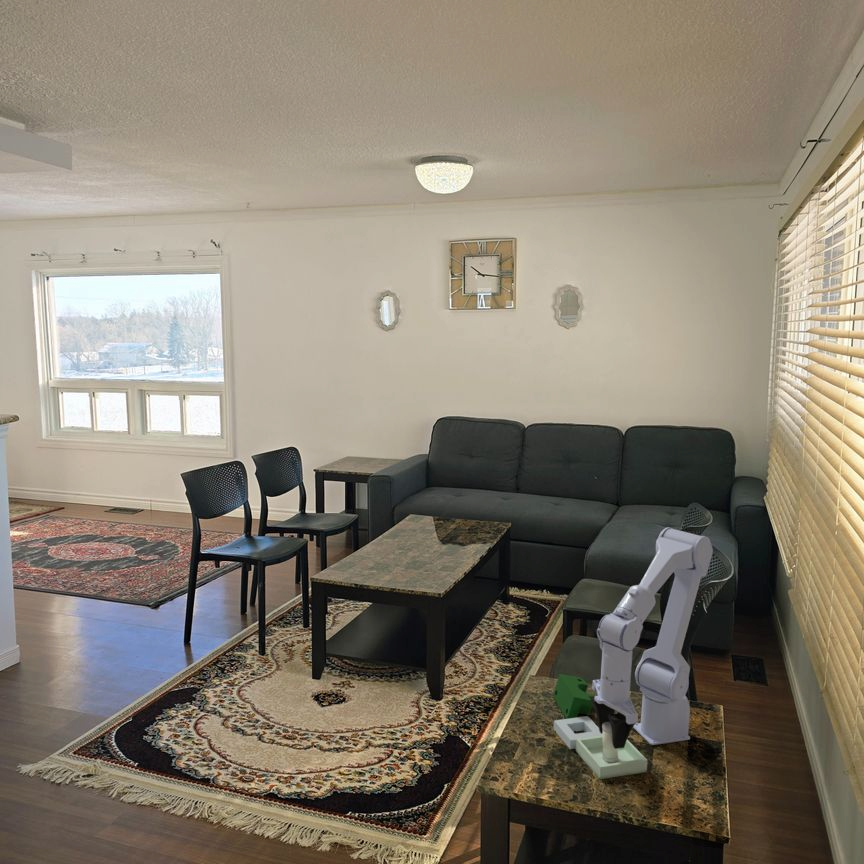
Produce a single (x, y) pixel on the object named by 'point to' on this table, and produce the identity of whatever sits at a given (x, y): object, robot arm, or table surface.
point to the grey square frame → (575, 729)
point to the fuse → (608, 744)
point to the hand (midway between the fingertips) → (611, 739)
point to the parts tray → (592, 755)
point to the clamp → (572, 696)
